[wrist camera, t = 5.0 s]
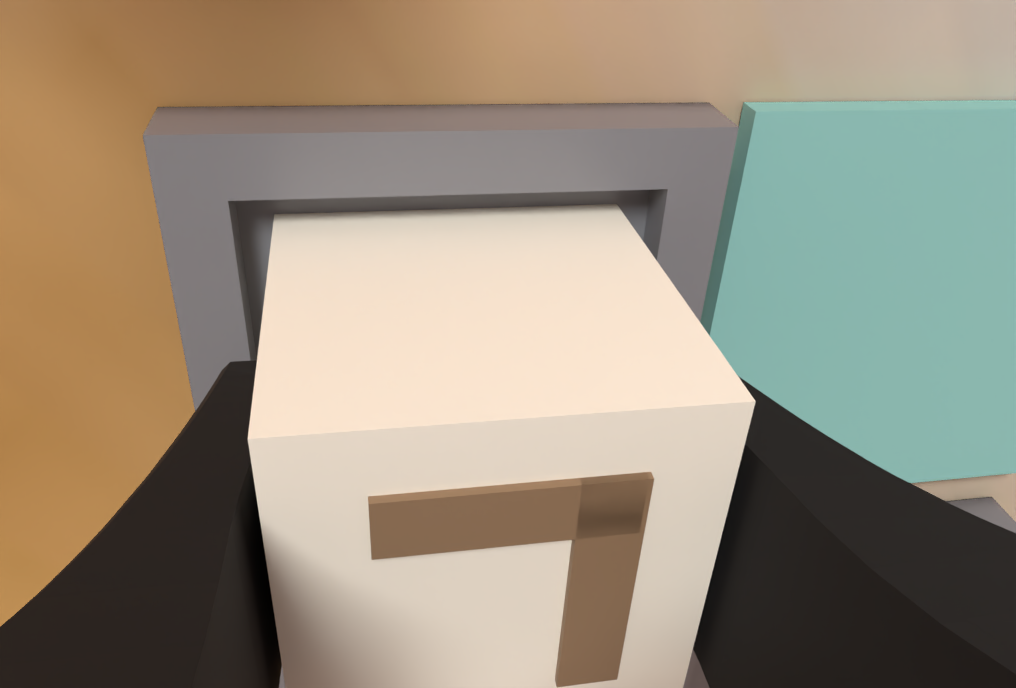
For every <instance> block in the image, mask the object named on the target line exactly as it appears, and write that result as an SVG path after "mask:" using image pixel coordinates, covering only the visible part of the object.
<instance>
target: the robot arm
mask: <svg viewBox="0 0 1016 688" xmlns="http://www.w3.org/2000/svg"><path fill="white" fill-rule="evenodd" d="M256 364H257V360H251V361H234V362H230V363H229V364H228V365H227V366H226V367H224V368H223V369H222V371H221V372H220V374H219V376H218V377H217V379H216V381H215V382H214V384H213V385H212V387H211V388H210V390H209V392H208V393H207V395H206V396H205V398H204V399H203V401H202V402H201V404H200V405H199V407H198V408H197V410H196V411H195V413H194V414H193V415H192V417H191V418H190V420H189V421H188V423H187V424H186V426H185V427H184V428H183V430H182V431H181V433H180V434H179V435H178V437H177V438H176V439H175V441H174V442H173V443H172V445H171V446H170V447H169V449H168V450H167V451H166V453H165V454H164V455H163V456H162V458H161V459H160V460H159V462H158V463H157V464H156V466H155V467H154V468H153V470H152V471H151V472H150V473H149V475H148V476H147V477H146V478H145V480H144V481H143V482H142V483H141V484H140V486H139V487H138V488H137V489H136V490H135V491H134V493H133V494H132V495H131V496H130V497H129V498H128V500H127V501H126V502H125V503H124V504H123V505H122V507H121V508H120V509H119V510H118V511H117V513H116V514H115V515H114V516H113V517H112V518H111V520H110V521H109V522H108V523H107V524H106V525H105V526H104V527H103V529H102V530H101V531H100V532H99V533H98V534H97V535H96V536H95V537H94V538H93V539H92V540H91V541H90V542H89V544H88V545H87V546H86V547H85V548H84V549H83V550H82V551H81V552H80V553H79V554H78V555H77V556H76V557H75V558H74V559H73V560H72V561H71V562H70V563H69V564H68V565H67V566H66V567H65V568H64V569H63V570H62V571H61V572H60V573H59V574H58V575H57V576H56V577H55V578H54V579H53V580H52V581H51V582H50V583H49V584H48V585H47V586H46V587H45V588H44V589H42V590H41V591H40V592H39V593H38V594H37V595H36V596H35V597H34V598H33V599H32V600H30V601H29V602H28V603H27V604H26V605H25V606H24V607H23V608H21V609H20V610H19V611H18V612H17V613H16V614H15V615H14V616H12V617H11V618H10V619H9V620H8V621H7V622H5V623H4V624H3V625H2V626H1V627H0V688H279V684H280V676H281V668H282V662H281V655H280V649H279V642H278V636H277V629H276V622H275V616H274V609H273V603H272V596H271V590H270V583H269V576H268V570H267V563H266V557H265V550H264V544H263V537H262V530H261V524H260V517H259V511H258V504H257V497H256V491H255V484H254V478H253V471H252V465H251V458H250V451H249V445H248V432H249V423H250V415H251V406H252V398H253V390H254V381H255V373H256ZM738 377H739V376H738ZM739 378H740V380H741V381H742V383H743V384H744V385H745V387H746V388H747V390H748V391H749V393H750V394H751V395H752V397H753V398H754V400H755V401H756V402H755V406H754V410H753V414H752V418H751V422H750V426H749V430H748V434H747V438H746V442H745V446H744V449H743V453H742V457H741V461H740V465H739V469H738V473H737V477H736V481H735V485H734V489H733V493H732V497H731V501H730V505H729V509H728V513H727V516H726V520H725V524H724V528H723V532H722V536H721V540H720V544H719V548H718V552H717V556H716V560H715V564H714V568H713V572H712V576H711V579H710V583H709V587H708V591H707V595H706V599H705V603H704V607H703V611H702V615H701V619H700V623H699V627H698V631H697V635H696V639H695V642H694V646H693V650H694V652H695V654H696V656H697V659H698V661H699V663H700V666H701V668H702V671H703V673H704V675H705V678H706V680H707V683H708V685H709V688H1016V533H1014V532H1012V531H1010V530H1007V529H1005V528H1003V527H1000V526H998V525H996V524H993V523H991V522H989V521H986V520H984V519H982V518H979V517H977V516H975V515H973V514H971V513H969V512H967V511H964V510H962V509H960V508H958V507H956V506H954V505H952V504H950V503H948V502H946V501H944V500H942V499H940V498H938V497H936V496H934V495H932V494H930V493H928V492H926V491H924V490H922V489H920V488H918V487H916V486H914V485H912V484H910V483H909V482H907V481H905V480H903V479H901V478H899V477H897V476H895V475H893V474H891V473H890V472H888V471H886V470H884V469H882V468H881V467H879V466H877V465H875V464H873V463H872V462H870V461H868V460H866V459H865V458H863V457H862V456H860V455H858V454H857V453H855V452H853V451H852V450H850V449H848V448H847V447H845V446H843V445H842V444H840V443H838V442H837V441H835V440H833V439H832V438H830V437H828V436H827V435H825V434H824V433H822V432H820V431H819V430H817V429H816V428H814V427H813V426H811V425H810V424H808V423H806V422H805V421H803V420H802V419H800V418H799V417H797V416H796V415H794V414H793V413H791V412H790V411H788V410H787V409H785V408H784V407H782V406H781V405H779V404H778V403H777V402H775V401H774V400H772V399H771V398H769V397H768V396H766V395H765V394H763V393H762V392H761V391H759V390H758V389H756V388H755V387H753V386H752V385H750V384H749V383H748V382H746V381H745V380H743V379H742V378H741V377H739Z"/></svg>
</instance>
